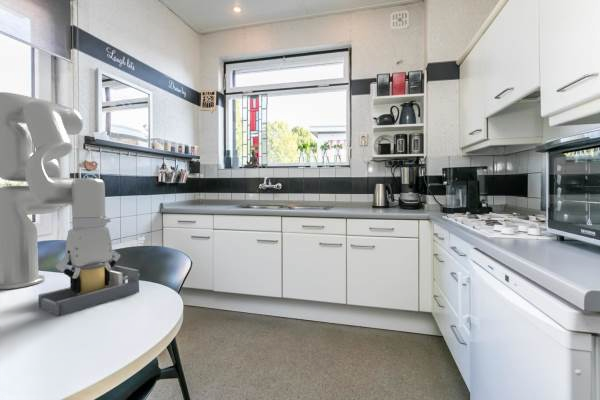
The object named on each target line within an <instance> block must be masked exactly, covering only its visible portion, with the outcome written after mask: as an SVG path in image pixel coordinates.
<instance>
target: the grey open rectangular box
mask: <svg viewBox="0 0 600 400" xmlns="http://www.w3.org/2000/svg"><path fill="white" fill-rule="evenodd" d="M113 268H114V269H113V271H116V272H121V273H122V277H125V276H126V275H127V276H128V279H127V282H126V280H123V281H122V283H123V284H121V285H117V286H113V287H109V288H105V289H102V290H98V291H94V292H90V293H86V294H83V295H79V296H78V295H77V293H76V292H73V291H72V290H71V288H70V287H65V288H61V289H60V288H59V289H57V290H53V291H49V292H48V291H47V292H44V293H40V294H38V308H40V309H42V310H44V311H47V312H50V313H51V314H53V315H56V316H58V317H59V316H62V315H66V314H70V313H73V312H76V311H79V310H83V309H86V308H90V307H93V306H97V305H101V304H104V303H107V302H109V301H112V300H116V299H119V298H123V297H127V296H130V295H132V294H133V293H134V294H136V292H137V293H140V271H139V269H136V268H132V267H127V266H122V265H114V266H113Z"/></svg>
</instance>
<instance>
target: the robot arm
mask: <svg viewBox="0 0 600 400" xmlns="http://www.w3.org/2000/svg"><path fill="white" fill-rule="evenodd" d="M19 123H21V124H26V127H27V129H28V131H27V130H26V129H25V128H24V127H23V126H22V125H21V124H19ZM83 127H84V123H83V118H82V116H81V114H80V113H79V112H78V111H77V110H76V109H75V108H73V107H69V106H66V105H62V104H59V103H57V102H53V101H49V100H48V101H47V100H45V99H40V98H36V97H31V96H27V95H24V94H19V93H12V92H7V91H6V92H5V91H2V92H1V91H0V179H2V180H4V181H9V182H19V183H20V182H23V183H26V184H27V185H6V186H1V187H0V290H13V289H17V288H18V289H19V288H24V287H30V286H33V285H37V284H39V283H42V282H44V281H45V279H46V278H45V277H46V276H45V275H41V274H39V247H38V244H39V243H38V229H37V225H36V224H35V223H34V222H33V221H32V220H31V218H29V216H32V215H44V214H54V213H56V212H58V211H59V210H60V209H61V207H62V206H66V205H67V206H71V217H72V218H71V219H72V222H71V223H72V224H71V225H72V227H71V228H72V229H69V230H68V231H67V236H66V243H65V254H64V257H62V259H60V261H58V263H57V264H55V265H54V266H55V269H56V270H58V271H60V272H61V273H63V275H66V276H67V277H69V278H70V279H69V280H70V281H69V282H70V288H71V290H72V291H73V292H76V293H80V292H81V282H80V278H79V277H78V275H79V273H80V270H81V269H80V267H82V266H87V265H93V264H98V263H103V262H105V286H107V285H109V281H110V271H111V270H112V268H114V266H116V263H117V261H118V260H119V259H120V258H121V254H120V253H119V252H117V251H116V250H114V249H113V245H112V239H111V233H110V231H109V229H110V228H109V227H107V223H111V218H110V217H107V216H106V184H105V181H104V180H103V179H100V178H91V177H90V178H85V177H83V178H81V177H80V178H75V177H73V178H72V177H62V173H61V166H60V163H59V162H58V160H59V159H60V158H64V157H65V156H67V155H69V154H70V153H71V152H72V150H73V143H72V141H71V139H70V137H69V135H70V136H75V135H78V134H79V133H81V132H82V130H83ZM28 132H29V133H28ZM32 142H33V145H34V147H35V151H34V152H33V147H32V146H33V145H32ZM57 159H58V160H57ZM67 266H69V267H70V269H69V268H67Z"/></svg>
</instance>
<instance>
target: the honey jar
mask: <svg viewBox="0 0 600 400" xmlns="http://www.w3.org/2000/svg"><path fill="white" fill-rule="evenodd" d="M80 269H81V270H80V273H79V275H78V277H79V278H80V282H81V292H80V293H77V295H78V296H79V295H83V294H86V293H90V292H94V291H98V290H102V289H105V262H103V263H98V264H93V265H87V266H82V267H80Z"/></svg>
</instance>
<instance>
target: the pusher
mask: <svg viewBox="0 0 600 400" xmlns="http://www.w3.org/2000/svg"><path fill="white" fill-rule="evenodd" d="M123 280H125V281H126V280H128V275H125V277H122V273H121V272H116V271H114V270H112V269H111V271H110V281H109V285H107V286H105V288H109V287H113V286H117V285H121V284H123V283H122V281H123Z"/></svg>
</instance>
